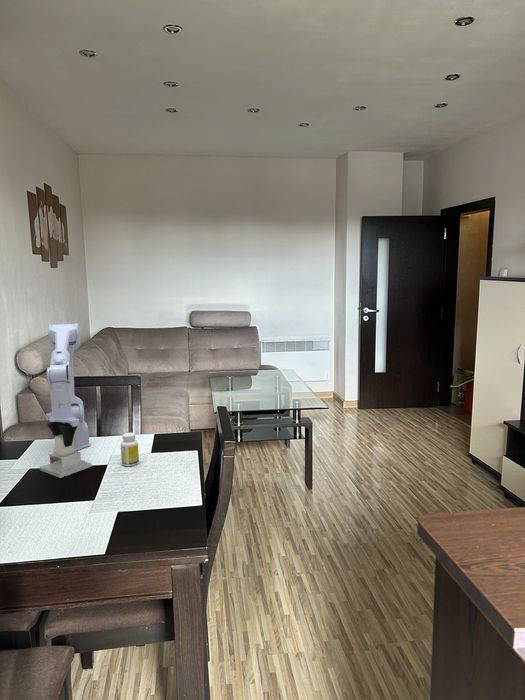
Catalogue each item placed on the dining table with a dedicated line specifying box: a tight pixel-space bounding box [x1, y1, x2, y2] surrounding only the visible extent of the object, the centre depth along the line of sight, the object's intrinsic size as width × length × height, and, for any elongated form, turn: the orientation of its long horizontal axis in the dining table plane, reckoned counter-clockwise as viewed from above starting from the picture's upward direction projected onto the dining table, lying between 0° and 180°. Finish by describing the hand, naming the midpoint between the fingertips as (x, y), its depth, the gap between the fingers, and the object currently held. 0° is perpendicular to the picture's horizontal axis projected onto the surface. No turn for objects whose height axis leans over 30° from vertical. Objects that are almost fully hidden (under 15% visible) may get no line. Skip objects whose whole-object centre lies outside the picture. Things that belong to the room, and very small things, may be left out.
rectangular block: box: [54, 435, 74, 457], centre depth 155 cm, size 4×4×8 cm
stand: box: [39, 450, 92, 479], centre depth 156 cm, size 11×11×5 cm
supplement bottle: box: [120, 432, 140, 467], centre depth 159 cm, size 5×5×10 cm
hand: (64, 444), depth 155 cm, fingers closed on rectangular block, 4 cm apart
